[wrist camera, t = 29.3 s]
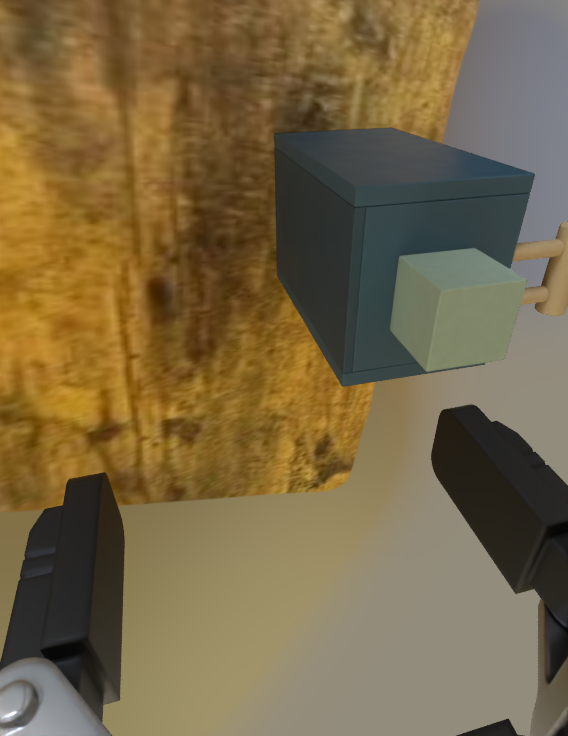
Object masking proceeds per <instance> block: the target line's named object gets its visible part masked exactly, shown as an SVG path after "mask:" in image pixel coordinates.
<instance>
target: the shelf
mask: <svg viewBox="0 0 568 736" xmlns="http://www.w3.org/2000/svg"><path fill="white" fill-rule="evenodd" d="M274 139H275V190H276V238H277V276H278V278H279V280H280V281H281V283H282V285H283V287H284V288H285V290H286V292H287V293H288V295H289V297H290V298H291V300H292V302H293V304H294V305H295V307H296V309H297V310H298V312H299V314H300V315H301V317H302V319H303V321H304V322H305V324H306V326H307V327H308V329H309V331H310V333H311V334H312V336H313V338H314V339H315V341H316V343H317V344H318V346H319V348H320V350H321V351H322V353H323V355H324V356H325V358H326V360H327V361H328V363H329V365H330V367H331V368H332V370H333V372H334V373H335V375H336V377H337V378H338V380H339V382H340V384H341V385H342V387H344V386H351V385H357V384H364V383H370V382H376V381H383V380H389V379H395V378H402V377H408V376H415V375H421V374H427V373H434V372H440V371H446V370H453V369H459V368H466V367H472V366H478V365H484V364H485V363H480V364H473V365H467V366H460V367H454V368H448V369H441V370H435V371H428V372H427V371H425V370H424V368H423V367H422V366H421V365H420V364H419V363H418V362H417V360H416V359H415V358H414V357H413V356H412V355H411V354H410V352H409V351H408V350H407V349H406V348H405V347H404V346H403V344H402V343H401V342H400V341H399V340H398V339H397V338H396V336H395V335H394V334H393V333H392V332H391V331H390V324H391V316H392V308H393V300H394V292H395V284H396V277H397V269H398V261H399V256H403V255H412V254H422V253H431V252H441V251H451V250H460V249H470V248H476V249H477V250H479V251H481V252H482V253H484V254H486V255H487V256H489V257H491V258H492V259H494V260H496V261H497V262H499V263H501V264H502V265H504V266H506V267H507V268H509V269H510V267H511V264H512V261H520V260H529V259H538V258H547V257H550V259H549V262H548V265H547V268H546V272H545V275H544V278H543V281H542V285H541V286H538V287H530V288H525V291H524V295H523V298H522V301H521V305H523V304H531V303H536V304H535V309H536V310H537V311H538V312H540V313H542V314H545V315H550V316H561V315H563V314H564V313H565V312H566V309H567V306H568V221H567V222H563V223H561V224H560V226H559V229H558V233H557V236H556V239H555V240H546V241H536V242H526V243H517V241H518V237H519V233H520V230H521V226H522V222H523V218H524V214H525V211H526V207H527V203H528V199H529V195H530V194H529V193H530V192H531V188H532V184H533V180H534V177H535V174H534V173H531V172H527V171H525V170H521V169H518V168H515V167H512V166H509V165H506V164H503V163H500V162H497V161H494V160H490V159H487V158H484V157H481V156H478V155H475V154H472V153H469V152H466V151H463V150H459V149H456V148H453V147H450V146H447V145H444V144H441V143H438V142H435V141H432V140H428V139H425V138H422V137H419V136H416V135H413V134H410V133H407V132H404V131H400V130H397V129H394V128H375V129H355V130H335V131H315V132H295V133H275V134H274Z"/></svg>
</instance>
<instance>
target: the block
mask: <svg viewBox="0 0 568 736" xmlns="http://www.w3.org/2000/svg"><path fill="white" fill-rule="evenodd" d="M526 284H527V279H525V278H524V277H522V276H520V275H519V274H517V273H515V272H514V271H512V270H511V269H509V268H507V267H506V266H504V265H502V264H501V263H499V262H497V261H496V260H494V259H492V258H491V257H489V256H487V255H486V254H484V253H482V252H481V251H479V250H477V249H476V248H470V249H460V250H451V251H441V252H431V253H422V254H412V255H403V256H399V261H398V269H397V277H396V284H395V292H394V300H393V308H392V316H391V324H390V331H391V332H392V333H393V334H394V335H395V336H396V338H397V339H398V340H399V341H400V342H401V343H402V344H403V346H404V347H405V348H406V349H407V350H408V351H409V352H410V354H411V355H412V356H413V357H414V358H415V359H416V360H417V362H418V363H419V364H420V365H421V366H422V367H423V368H424V370H425V371H427V372H428V371H435V370H441V369H448V368H454V367H460V366H467V365H473V364H480V363H486V362H492V361H499V360H504V359H505V356H506V353H507V350H508V346H509V343H510V339H511V336H512V333H513V329H514V326H515V322H516V319H517V315H518V311H519V308H520V305H521V301H522V298H523V295H524V291H525V288H526Z"/></svg>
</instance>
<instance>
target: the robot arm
mask: <svg viewBox="0 0 568 736" xmlns="http://www.w3.org/2000/svg"><path fill="white" fill-rule="evenodd" d="M431 460H432V466H433V470H434V472H435V475H436V477H437V478H438V480H439V481H440V483H441V484H442V486H443V487H444V489H445V490H446V492H447V493H448V495H449V496H450V498H451V499H452V500H453V502H454V503H455V505H456V506H457V508H458V509H459V511H460V512H461V514H462V515H463V517H464V518H465V520H466V521H467V523H468V524H469V526H470V527H471V529H472V530H473V532H474V533H475V534H476V536H477V537H478V539H479V540H480V542H481V543H482V545H483V546H484V548H485V549H486V551H487V552H488V554H489V555H490V557H491V558H492V560H493V561H494V563H495V564H496V566H497V567H498V568H499V570H500V571H501V573H502V575H503V576H504V577H505V579H506V580H507V582H508V583H509V585H510V586H511V588H512V589H513V591H514V592H515V594H517V593H521V592H525V591H528V590H531V589H535V591H536V592H537V593H538V595H539V596H540V598H541V599H540V602H539V605H538V693H537V699H536V704H535V707H534V711H533V715H532V721H531V730H530V736H568V485H567V484H566V483H565V482H564V481H563V480H562V479H561V478H560V477H559V476H558V475H557V474H556V473H555V472H554V471H553V470H552V469H551V468H550V467H549V465H545V461H543V459H542V458H541V457H540V456H539V455H538V454H537V453H536V452H533V450H532V448H531V447H530V446H529V445H528V443H526V441H525V440H524V439H523V438H522V437H521V436H520V435H519V434H518V433H517V432H515V431H513V430H511V429H510V428H508V427H507V426H505V425H503V424H502V423H500V422H498V421H494V422H491V421H490V420H489V419H488V418H487V417H486V416H485V414H484V413H483V412H482V411H481V410H480V409H479V408H478V407H477V406H475V405H465V406H461V407H455V408H450V409H445V410H442V411H441V413H440V415H439V419H438V424H437V429H436V434H435V439H434V443H433V448H432V453H431ZM124 544H125V541H124V529H123V523H122V518H121V515H120V512H119V509H118V506H117V503H116V500H115V497H114V494H113V491H112V488H111V485H110V482H109V479H108V476H107V474H106V473H105V472H104V473H99V474H93V475H88V476H83V477H77V478H72V479H69V480H68V482H67V485H66V490H65V496H64V503H63V505H62V506H57V507H52V508H47V509H45V510H44V511H43V513H42V514H41V516H40V517H39V518H38V520H37V522H36V523H35V524H34V526H33V528H32V529H31V530H30V533H29V537H28V542H27V546H26V551H25V560H24V561H23V564H22V569H21V574H20V577H21V579H20V580H19V582H18V586H17V591H16V595H15V600H14V604H13V609H12V613H11V618H10V623H9V627H8V631H7V636H6V641H5V645H4V649H3V654H2V658H1V661H0V736H112V735H111V734H110V732H109V731H108V730H107V729H106V727H105V726H104V725H103V723H102V718H103V705H105V704H109V703H112V702H116V701H119V700H120V679H121V678H120V677H121V647H122V645H121V644H122V614H123V613H122V612H123V581H124V547H125V545H124ZM457 736H523V735H517V734H516V731H515V730H514V728H513V726H512V724H511V722H510V720H509V719H506V720H503V721H500V722H496V723H493V724H491V725H487V726H484V727H481V728H478V729H475V730H472V731H469V732H466V733H463V734H460V735H457Z"/></svg>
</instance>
